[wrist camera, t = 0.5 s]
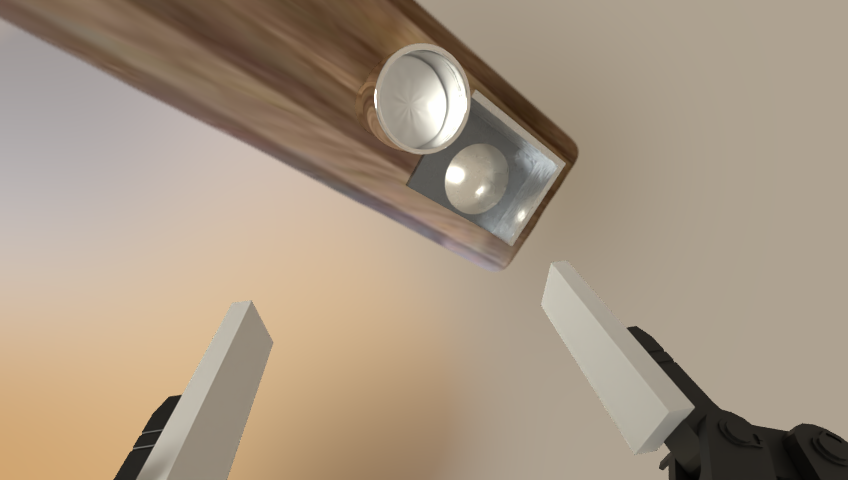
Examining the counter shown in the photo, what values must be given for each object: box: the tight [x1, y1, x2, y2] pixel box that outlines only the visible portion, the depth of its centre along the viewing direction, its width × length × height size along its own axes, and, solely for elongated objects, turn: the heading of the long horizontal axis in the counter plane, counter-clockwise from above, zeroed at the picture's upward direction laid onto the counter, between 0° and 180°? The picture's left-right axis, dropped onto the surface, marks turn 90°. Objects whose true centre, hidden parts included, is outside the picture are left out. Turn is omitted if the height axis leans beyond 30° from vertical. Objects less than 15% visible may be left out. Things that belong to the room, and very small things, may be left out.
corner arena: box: [406, 89, 566, 246], centre depth 37 cm, size 15×12×5 cm
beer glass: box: [355, 43, 471, 154], centre depth 26 cm, size 7×7×15 cm
